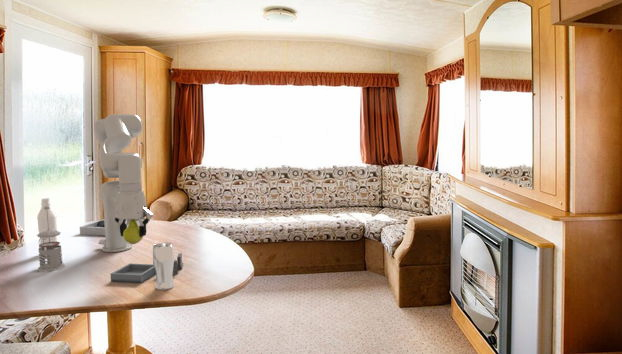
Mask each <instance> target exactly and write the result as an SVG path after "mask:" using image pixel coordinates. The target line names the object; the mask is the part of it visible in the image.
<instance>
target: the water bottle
mask: <svg viewBox="0 0 622 354" xmlns="http://www.w3.org/2000/svg"><path fill="white" fill-rule="evenodd" d="M40 205H41V208H40V210H39V212H38V214H37V218H36V219H37V225H38V226H37V227H38V234H39V233H41V232H43V231H46V230H48V225H49V230H56V231H58V226H57V225H58V223H57V215H56V212H55V211H54V209H53V208H52V206H51V201H50V198H41V203H40ZM46 206H49V208H50V209H44V207H46ZM47 212H48V221H47ZM49 238H50V242H52V241H53V242H58V236H54V237H47V239H46V238H42V237H41V238H40V237H39V239H40V242H39V244H42V243H43V240H42V239H46V240H44V243H48V242H49ZM40 248H41V247H40ZM55 249H57V248H55ZM45 250H46V247H45Z"/></svg>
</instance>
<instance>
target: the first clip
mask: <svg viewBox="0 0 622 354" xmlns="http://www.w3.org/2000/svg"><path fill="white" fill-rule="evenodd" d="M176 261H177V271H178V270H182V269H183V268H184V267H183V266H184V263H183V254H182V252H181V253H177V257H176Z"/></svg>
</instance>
